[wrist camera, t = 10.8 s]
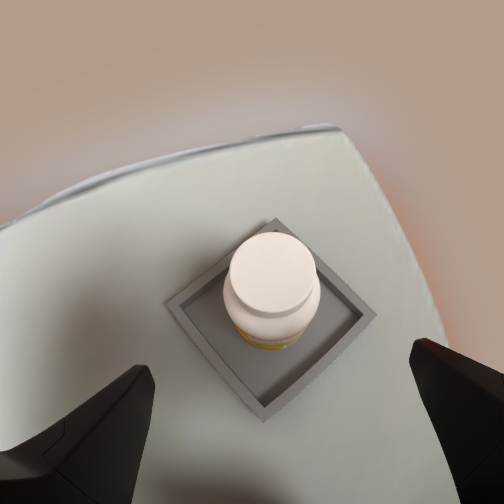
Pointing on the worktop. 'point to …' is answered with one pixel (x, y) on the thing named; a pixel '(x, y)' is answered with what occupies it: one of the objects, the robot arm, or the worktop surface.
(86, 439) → the robot arm
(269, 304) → the supplement bottle
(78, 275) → the worktop surface
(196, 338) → the charcoal tray
